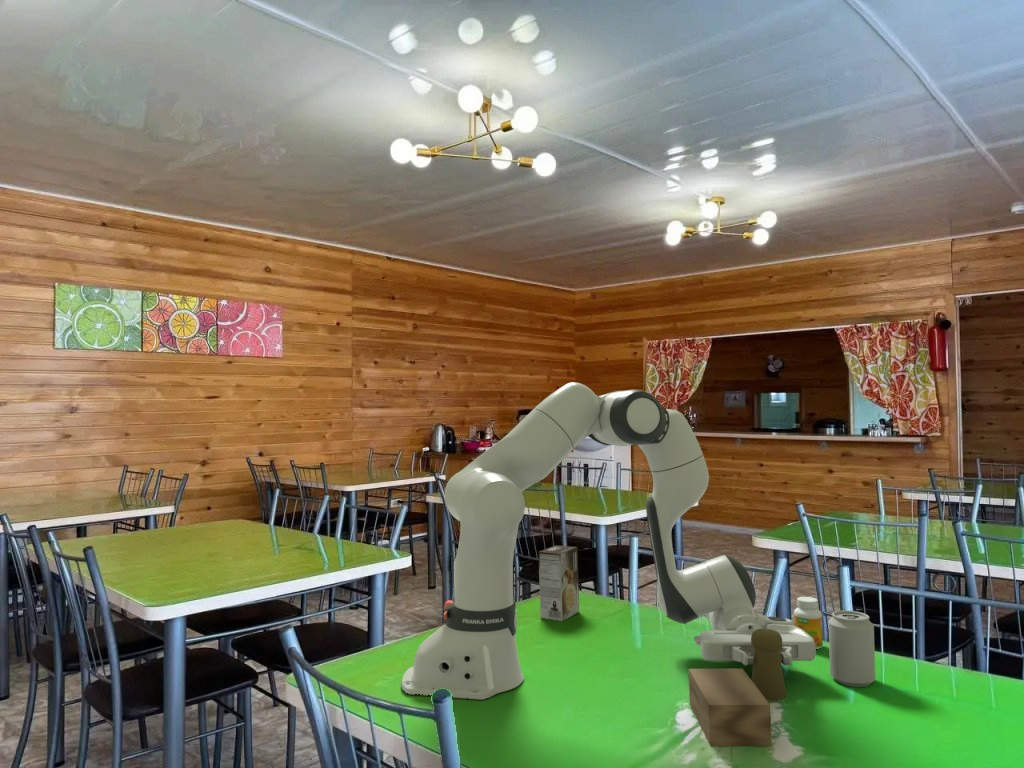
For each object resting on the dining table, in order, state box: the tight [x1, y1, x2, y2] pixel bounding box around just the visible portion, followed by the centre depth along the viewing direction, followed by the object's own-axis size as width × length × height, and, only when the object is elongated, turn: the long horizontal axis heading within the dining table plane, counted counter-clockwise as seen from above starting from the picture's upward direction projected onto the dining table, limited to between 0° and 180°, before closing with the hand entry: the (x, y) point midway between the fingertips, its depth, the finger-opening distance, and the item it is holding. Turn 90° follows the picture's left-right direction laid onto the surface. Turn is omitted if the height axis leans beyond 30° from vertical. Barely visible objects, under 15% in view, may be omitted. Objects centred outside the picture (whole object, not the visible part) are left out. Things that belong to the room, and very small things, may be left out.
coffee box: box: [538, 545, 580, 622], centre depth 178 cm, size 9×6×16 cm
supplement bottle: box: [793, 596, 824, 650], centre depth 152 cm, size 5×5×10 cm
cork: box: [751, 629, 787, 702], centre depth 128 cm, size 6×6×11 cm
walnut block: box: [688, 668, 772, 747], centre depth 116 cm, size 9×15×6 cm, turn 178°
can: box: [827, 610, 876, 688], centre depth 133 cm, size 8×8×12 cm
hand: (768, 660), depth 127 cm, fingers open, 5 cm apart
